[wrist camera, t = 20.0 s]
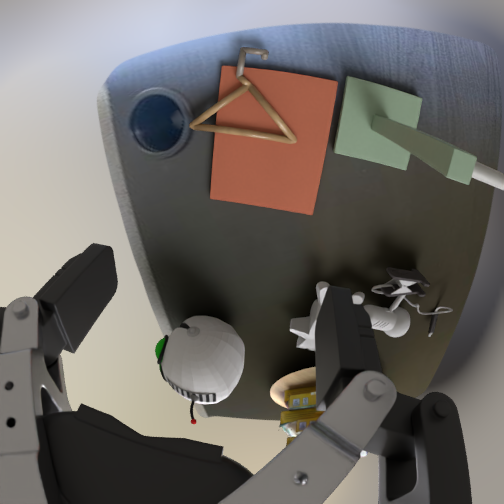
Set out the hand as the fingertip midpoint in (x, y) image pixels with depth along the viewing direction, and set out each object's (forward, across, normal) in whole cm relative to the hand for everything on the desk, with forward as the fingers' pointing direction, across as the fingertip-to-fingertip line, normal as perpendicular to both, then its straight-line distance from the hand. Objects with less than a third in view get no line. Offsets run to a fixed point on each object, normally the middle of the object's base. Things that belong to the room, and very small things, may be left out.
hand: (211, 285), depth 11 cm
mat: (+30, 0, 0) cm, 30 cm away
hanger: (+29, +4, 0) cm, 29 cm away
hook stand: (+30, -17, -5) cm, 35 cm away
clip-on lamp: (+30, -27, +21) cm, 45 cm away
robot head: (+30, +6, +34) cm, 46 cm away
